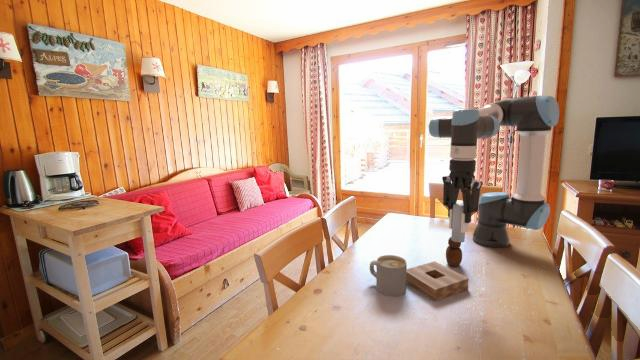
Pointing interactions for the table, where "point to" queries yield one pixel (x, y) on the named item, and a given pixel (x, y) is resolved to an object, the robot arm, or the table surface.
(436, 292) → the bore block
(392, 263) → the coffee mug
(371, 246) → the table surface
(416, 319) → the table surface
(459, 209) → the peg
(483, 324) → the table surface
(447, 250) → the wooden figurine
